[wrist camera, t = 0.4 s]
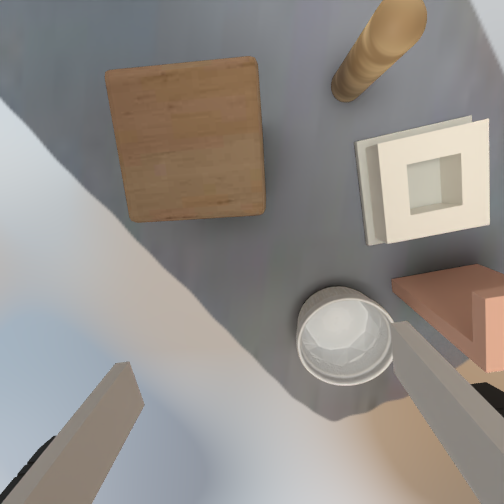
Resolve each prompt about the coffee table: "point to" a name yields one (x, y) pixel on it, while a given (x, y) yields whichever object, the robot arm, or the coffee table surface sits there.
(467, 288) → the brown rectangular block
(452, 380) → the robot arm
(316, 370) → the ramekin
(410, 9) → the peg
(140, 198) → the wooden block
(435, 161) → the socket
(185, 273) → the coffee table surface
